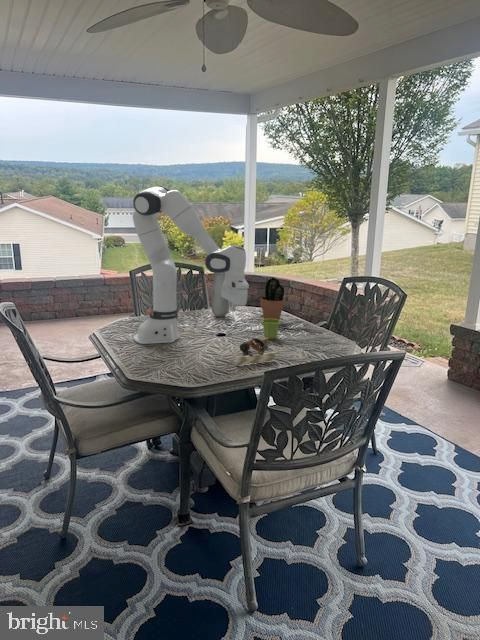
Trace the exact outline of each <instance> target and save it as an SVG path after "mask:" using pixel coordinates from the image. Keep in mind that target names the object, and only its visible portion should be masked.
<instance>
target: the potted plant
mask: <svg viewBox="0 0 480 640" xmlns="http://www.w3.org/2000/svg"><path fill="white" fill-rule="evenodd" d="M264 291H265V293H264V296H262V297H260V308H261V310H262V317H263V319H277V320H280V319H281V314H282V312H283V308H284V307H285V306H284V305H285V298H284V295H285V288H284V287H283V285H282V284H280V280H278V279H277V278H276V277H271V278H269V279H268V280H267V282H266V284H265V290H264ZM280 321H281V320H280Z"/></svg>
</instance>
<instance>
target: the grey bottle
mask: <svg viewBox="0 0 480 640" xmlns="http://www.w3.org/2000/svg"><path fill="white" fill-rule="evenodd" d="M224 280H225V272H221V273H213V282H212V286H211V291H210V293H211V312H212V314H213V316H215V317H218V318H223V317H226V316H227V315H228V313H229V311H230V310H229V303H228V302H229V300H227V299H225V298H223V297H222V296H221V290H222V284H223V282H224Z"/></svg>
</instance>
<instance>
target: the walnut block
mask: <svg viewBox="0 0 480 640" xmlns="http://www.w3.org/2000/svg"><path fill="white" fill-rule="evenodd" d="M256 338H257V339H259V340H261V341H262V342H263V343H264V344H265V346H267V347H268V346H269V339H268V338H265V337H264V336H260V337H256ZM255 344H256V345H257V346H260V347H261V345H260V343H255Z"/></svg>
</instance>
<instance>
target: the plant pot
mask: <svg viewBox="0 0 480 640" xmlns="http://www.w3.org/2000/svg"><path fill="white" fill-rule="evenodd" d="M261 323H262V325H263V334H264V335H263V337H265V338H268V340H270V339H271V340H272V339H274V338H275V339H277V337H278V331H279V326H280V323H281V320H277V319H264V318H263V319H262V320H261Z"/></svg>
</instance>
